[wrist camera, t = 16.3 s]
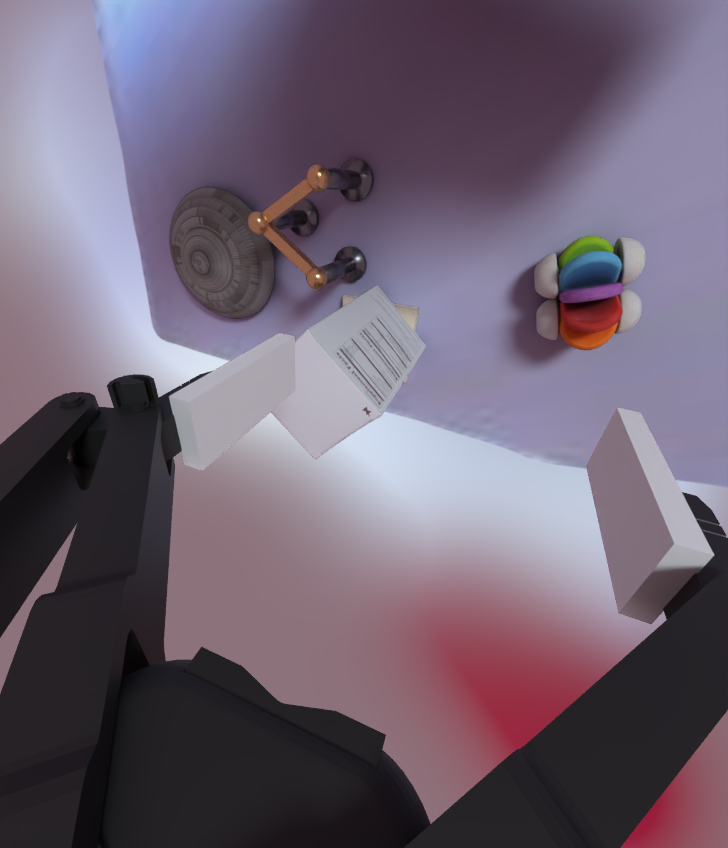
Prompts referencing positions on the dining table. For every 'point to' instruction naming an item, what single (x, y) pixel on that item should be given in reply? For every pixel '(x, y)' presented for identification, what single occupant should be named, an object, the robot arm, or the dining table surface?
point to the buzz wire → (316, 220)
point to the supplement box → (348, 371)
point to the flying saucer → (221, 253)
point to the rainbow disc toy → (589, 291)
